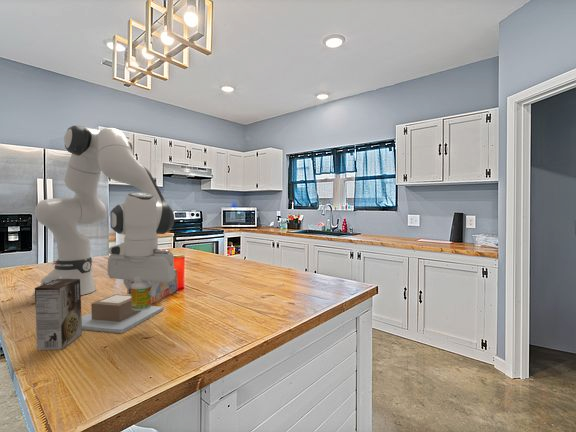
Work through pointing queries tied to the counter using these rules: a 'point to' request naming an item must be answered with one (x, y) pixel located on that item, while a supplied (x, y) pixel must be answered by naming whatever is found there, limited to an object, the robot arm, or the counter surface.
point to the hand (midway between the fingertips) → (141, 294)
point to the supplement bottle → (140, 295)
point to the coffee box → (58, 313)
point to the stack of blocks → (164, 289)
